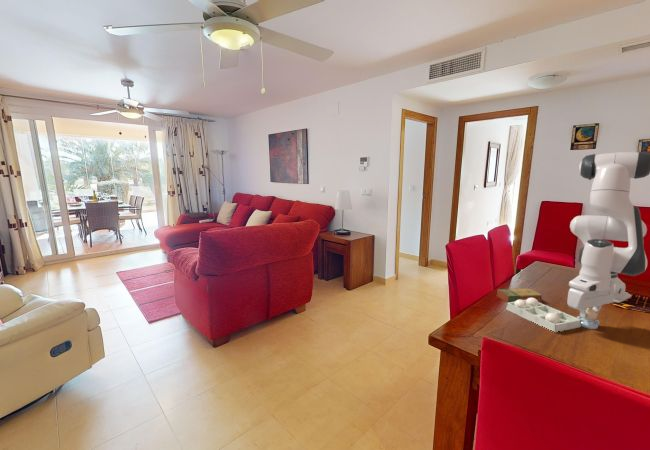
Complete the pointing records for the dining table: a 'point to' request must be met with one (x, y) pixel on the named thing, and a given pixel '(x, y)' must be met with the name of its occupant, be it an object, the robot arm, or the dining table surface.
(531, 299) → the egg
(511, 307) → the tray
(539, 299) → the carton
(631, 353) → the dining table surface
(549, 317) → the egg
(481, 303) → the dining table surface
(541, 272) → the dining table surface
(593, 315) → the egg
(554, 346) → the dining table surface
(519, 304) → the egg
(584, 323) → the egg cup
